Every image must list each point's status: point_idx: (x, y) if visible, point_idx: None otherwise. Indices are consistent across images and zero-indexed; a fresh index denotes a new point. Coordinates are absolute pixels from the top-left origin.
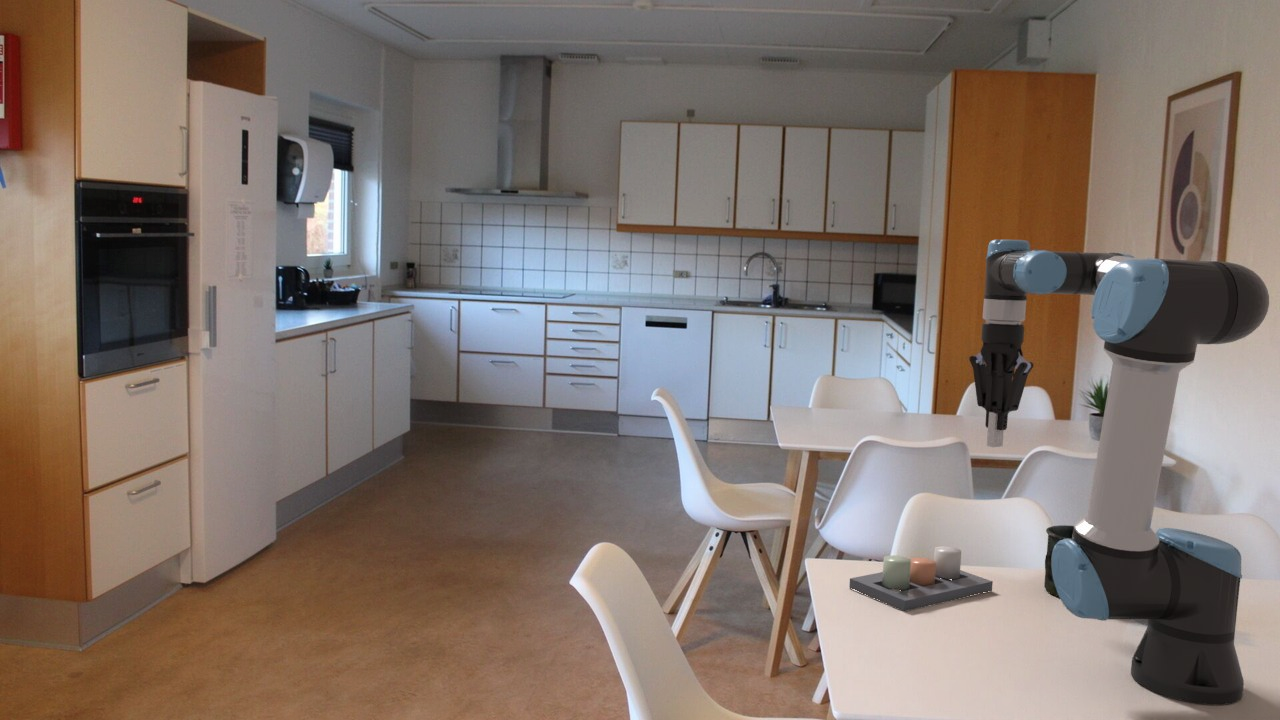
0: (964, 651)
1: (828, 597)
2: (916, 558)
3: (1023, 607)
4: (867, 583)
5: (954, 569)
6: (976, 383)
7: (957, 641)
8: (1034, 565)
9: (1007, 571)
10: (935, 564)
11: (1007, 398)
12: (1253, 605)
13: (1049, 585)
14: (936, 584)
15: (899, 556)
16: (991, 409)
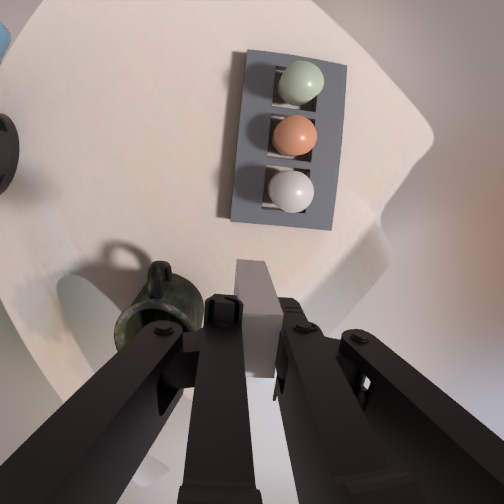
0: (131, 23)
1: (332, 27)
2: (311, 140)
3: (169, 200)
4: (321, 65)
5: (270, 183)
6: (444, 402)
7: (150, 35)
8: None
9: None
10: (277, 140)
11: (154, 362)
12: None
13: (181, 279)
14: (266, 138)
15: (312, 94)
16: (282, 336)
